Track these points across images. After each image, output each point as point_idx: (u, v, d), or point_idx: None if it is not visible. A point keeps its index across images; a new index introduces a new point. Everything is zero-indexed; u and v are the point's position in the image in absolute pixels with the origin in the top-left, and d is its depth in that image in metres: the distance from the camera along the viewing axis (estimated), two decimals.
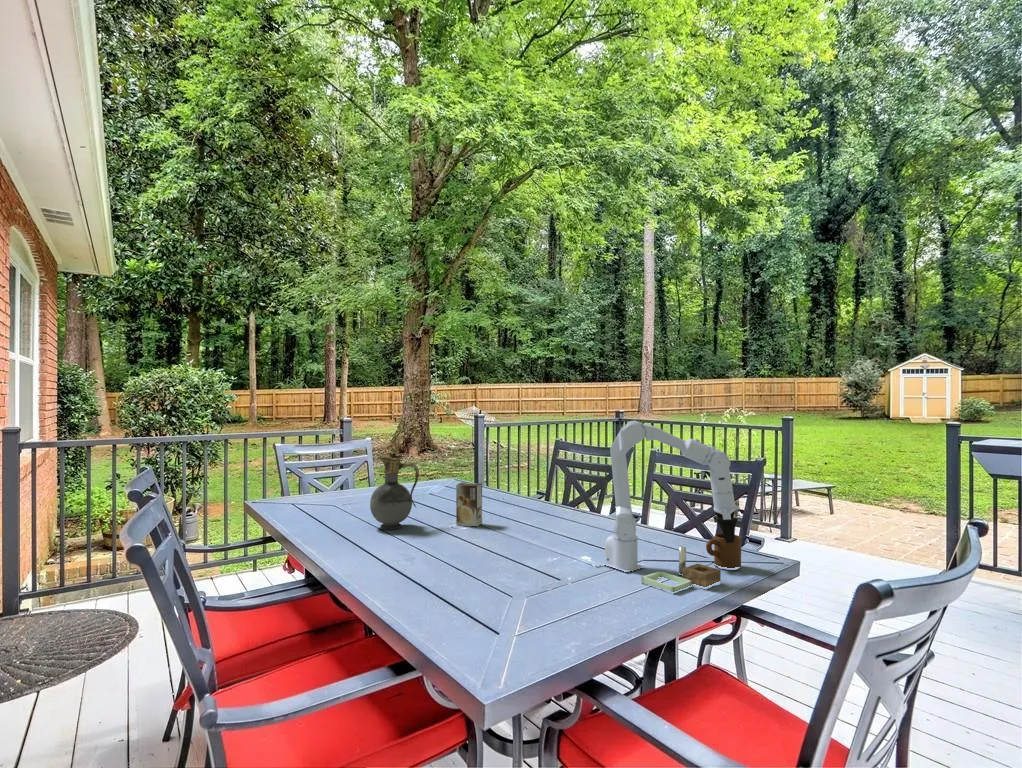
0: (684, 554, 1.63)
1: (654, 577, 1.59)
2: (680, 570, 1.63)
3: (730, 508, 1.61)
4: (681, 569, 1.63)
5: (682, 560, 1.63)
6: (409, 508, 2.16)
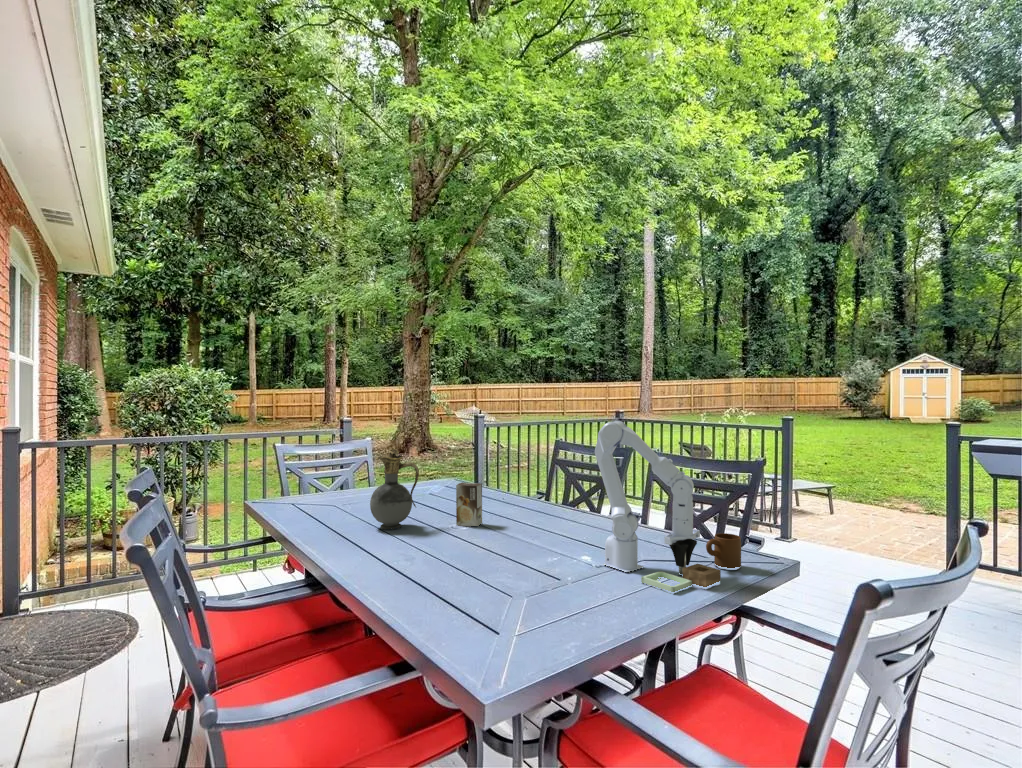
0: None
1: (654, 577, 1.59)
2: (680, 570, 1.63)
3: (681, 535, 1.61)
4: (681, 569, 1.63)
5: None
6: (409, 508, 2.16)
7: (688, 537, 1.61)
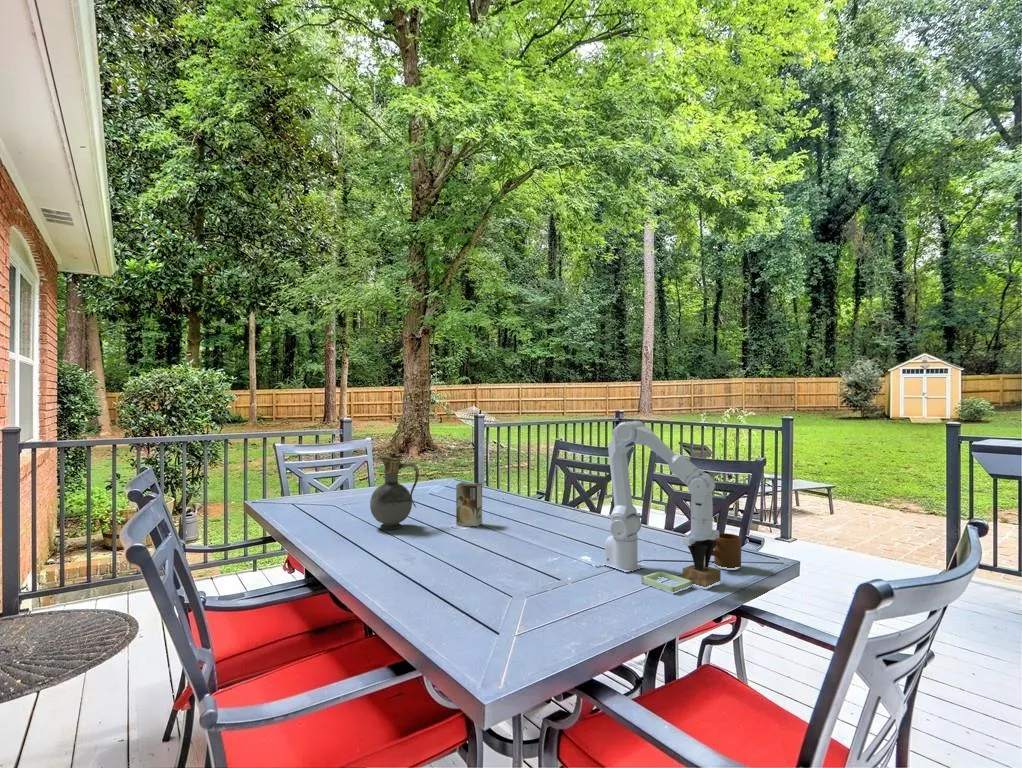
0: None
1: (654, 577, 1.59)
2: None
3: (700, 536, 1.54)
4: None
5: None
6: (409, 508, 2.16)
7: (708, 538, 1.53)
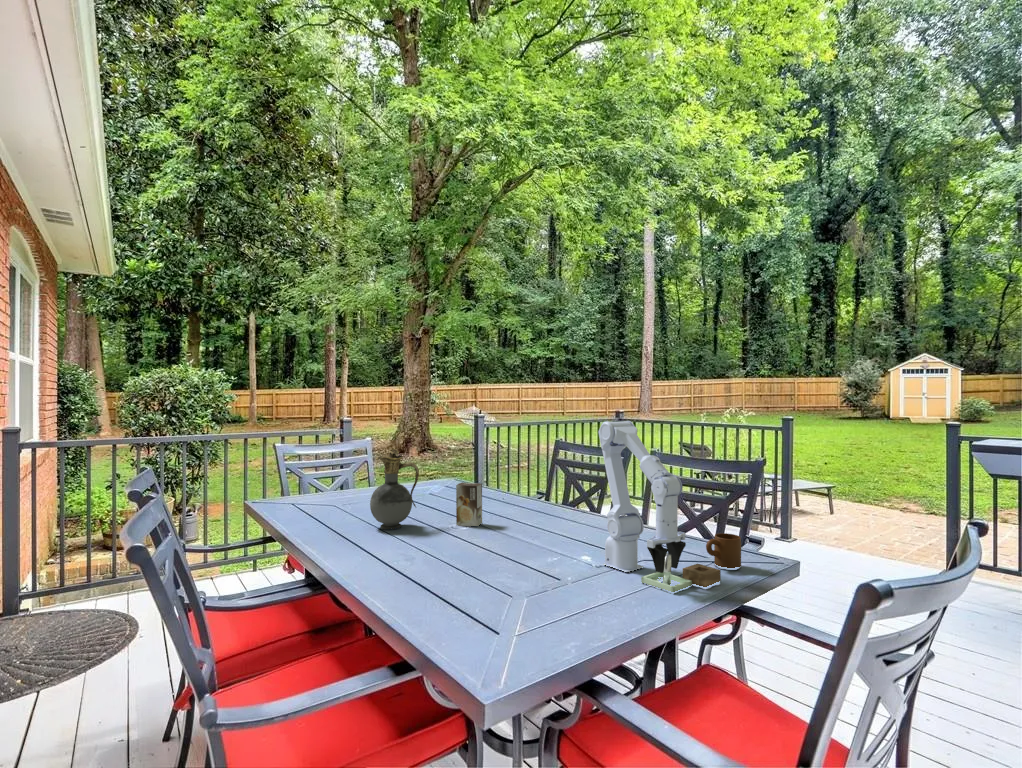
0: (669, 561, 1.54)
1: (654, 577, 1.59)
2: (664, 578, 1.54)
3: (665, 538, 1.52)
4: (666, 578, 1.54)
5: (667, 567, 1.54)
6: (409, 508, 2.16)
7: (672, 540, 1.52)
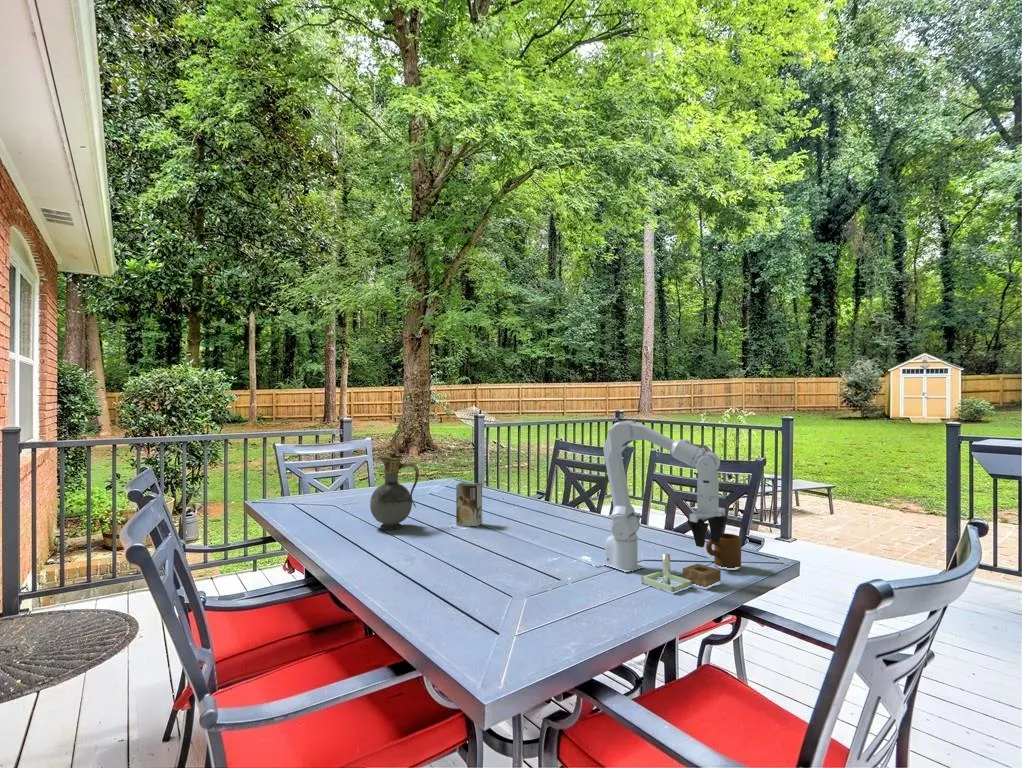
0: (668, 561, 1.54)
1: (654, 577, 1.59)
2: (664, 578, 1.54)
3: (707, 513, 1.56)
4: (665, 578, 1.54)
5: (666, 567, 1.54)
6: (409, 508, 2.16)
7: (714, 514, 1.55)
